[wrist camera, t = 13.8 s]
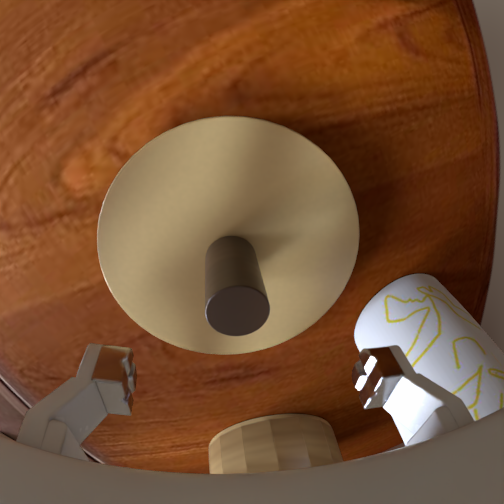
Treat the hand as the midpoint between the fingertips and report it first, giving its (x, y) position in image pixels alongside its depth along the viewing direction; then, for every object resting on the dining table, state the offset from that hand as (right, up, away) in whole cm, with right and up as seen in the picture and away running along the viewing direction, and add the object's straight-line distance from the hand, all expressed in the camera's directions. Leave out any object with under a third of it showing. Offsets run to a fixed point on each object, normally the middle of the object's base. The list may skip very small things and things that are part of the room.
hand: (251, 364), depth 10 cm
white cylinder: (+11, -1, +12) cm, 16 cm away
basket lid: (-1, +4, +7) cm, 8 cm away
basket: (+2, -17, +18) cm, 25 cm away
